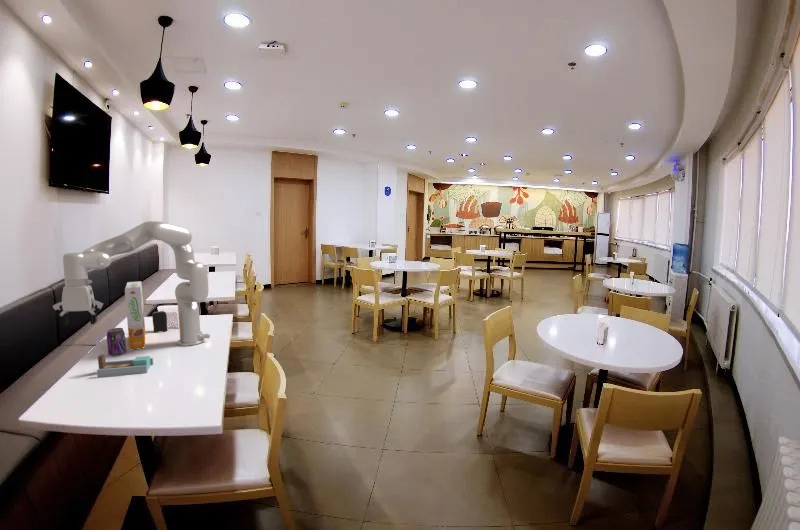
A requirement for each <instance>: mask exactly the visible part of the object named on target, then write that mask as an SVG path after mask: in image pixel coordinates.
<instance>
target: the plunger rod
mask: <svg viewBox="0 0 800 530" xmlns="http://www.w3.org/2000/svg"><path fill="white" fill-rule="evenodd" d="M97 361H98V369H108V368H119V367H131V366H133V363H132V364H120V365H108V366H106V362H107V361H106V354H105V353H104V354H103V353H102V354H99V355H98V356H97Z"/></svg>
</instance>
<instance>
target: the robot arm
mask: <svg viewBox="0 0 800 530" xmlns="http://www.w3.org/2000/svg"><path fill="white" fill-rule="evenodd" d="M192 240H193V235H192V233H191V231H190V230H189V229H187V228H185V227H181V226H177V225H174V224H171V223H167V222H163V221H154V220H150V221H144V222H142V223H140V224H139V225H136V226H135V227H133V228H131V229H129V230H128V231H125V232H123V233H121V234H120V235H116V236H113V237H111V238H109V239H106V240H103V241H101V242H98V243H96V244H94V245H92V246H90V247H88V248H86V249H85V250H83V251H82V252H69V253H68V252H67V253H64V254H63V256H62V264H63V265H62V266H63V275H64V276H63V278H64V286H63V289H62V295H61V301H59V302H57V303H55V304H54V305H52V308H53V309H54V310H55V313H56V314H58V315H59V316H60V317H61V324H62V326H63V327H66V326H67V325H69V324H70V320H69V314H68V313H69V312H85V311H88V312H89V313H90V316H89V317H90V318H89V319H90V325H94V324H96V323H97V322H98V316H97V314H98V313H99V312H100V311H101V310H102V308H103V305H104V302H101V301H98V300H96V299H95V296H94V291H93V288H92V285H90V284H92V283H93V280H92V279H89V277H88V275H89V274H88V270H104V269H106V268H109V266H110V265H111V264H112V258H111V257H114V256H117V255H123V254H127V253H132V252H134V251H136V250H138V249H140V248H141V247H143V246H145V245H146V244H149V243H150V242H151V241H161V242H164V243H165V244H167V245H168V246H169V247H170V248H171V249H172V251H173V253H174V259H175V270H176V275H177V277H178V278H179V279H180V280H184V281H182V282H179V283H178V284H177V286H175V290H174V294H175V299H176V304H177V312H178V330H179V339H178V340H177V341H176V344H177V345H178V346H180V347H191V346H195V345H196V344H197V345H200V344H202V343H204V342H205V339H210V337H211V335H210V334H209V333H203V331H201V321H200V320H201V319H200V307H199V303H203V302H204V301H206V300H207V299H208V297H209V278H208V277H209V276H208V275H209V274H208V270H207V268H206V266H205V265H204V264H203V263H202V262H199V261H195V253H194V249H193V246H192V244H191V242H192ZM185 280H186V281H185ZM60 306H61V308H60ZM96 306H97V308H95V307H96ZM190 345H191V346H190Z"/></svg>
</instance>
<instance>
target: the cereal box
mask: <svg viewBox="0 0 800 530" xmlns="http://www.w3.org/2000/svg"><path fill="white" fill-rule="evenodd" d="M124 295H125V296H124V298H125V306H126V319H127V331H128V333H127V334H128V344H129V345H128V346H129V350H130V349H133V350H138V349H137V348H140V349H144V348H143V347H146V337H145V335H146V324H145V323H146V322H145V313H144V312H145V311H144V297H143V285H142V281H139V280H138V281H127V283H126V285H125V288H124Z"/></svg>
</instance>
